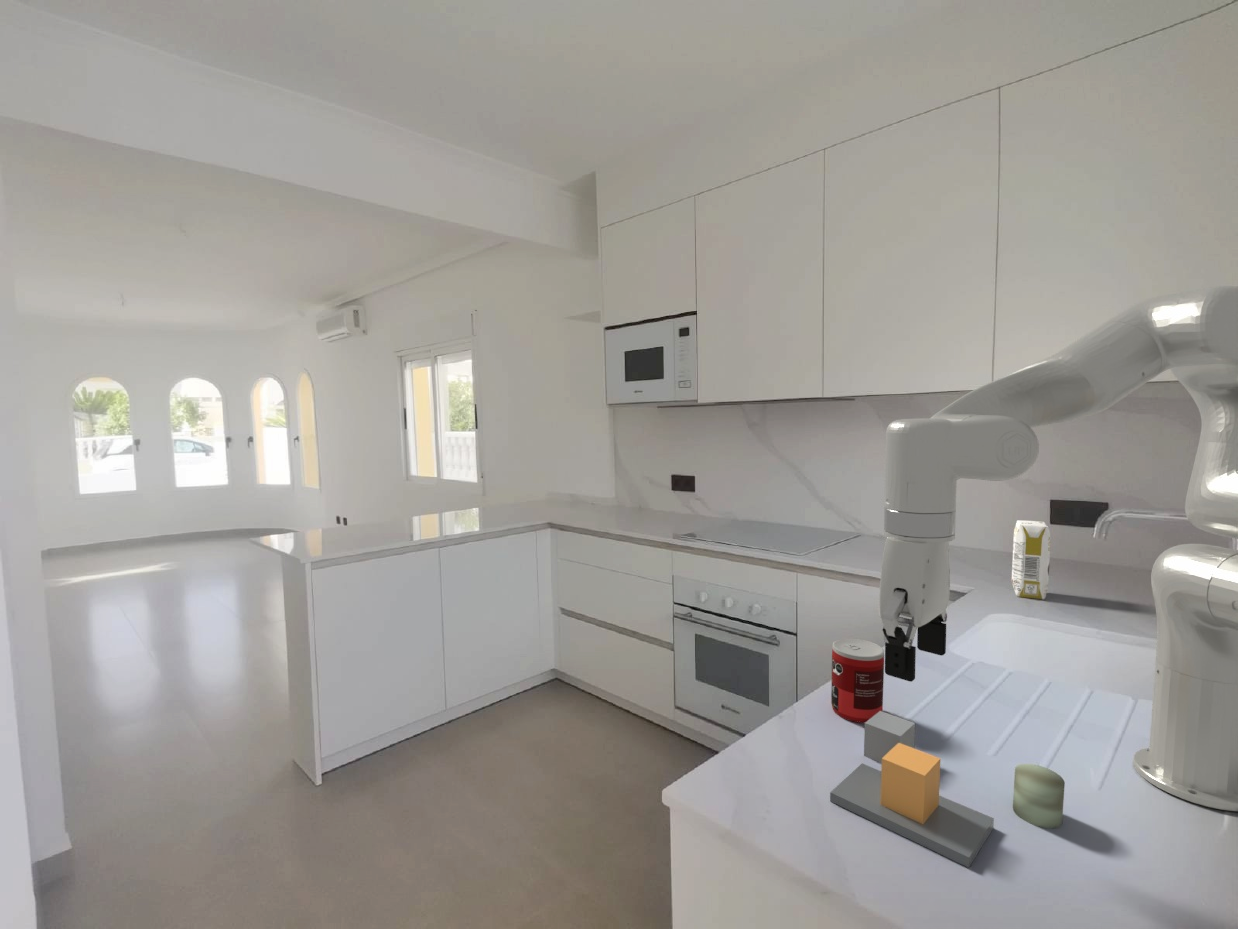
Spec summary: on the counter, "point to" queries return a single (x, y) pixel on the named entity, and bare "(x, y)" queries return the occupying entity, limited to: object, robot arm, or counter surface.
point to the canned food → (857, 679)
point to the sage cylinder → (1038, 795)
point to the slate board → (942, 832)
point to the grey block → (886, 734)
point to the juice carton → (1031, 559)
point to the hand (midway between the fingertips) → (916, 664)
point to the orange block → (910, 782)
